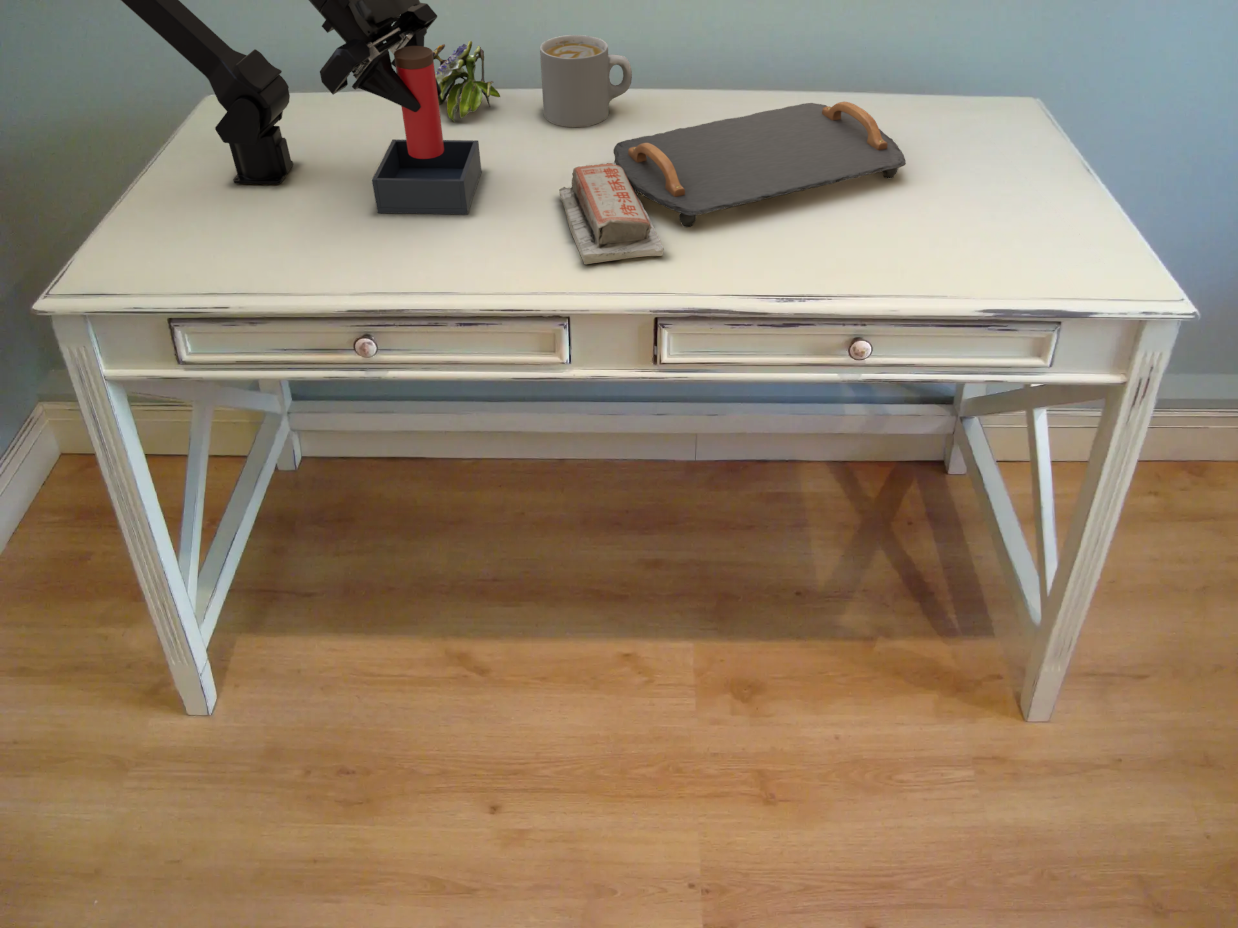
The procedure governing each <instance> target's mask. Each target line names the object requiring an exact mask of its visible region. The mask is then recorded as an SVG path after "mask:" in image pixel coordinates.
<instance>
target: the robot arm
mask: <svg viewBox="0 0 1238 928" xmlns="http://www.w3.org/2000/svg"><path fill="white" fill-rule="evenodd" d="M120 1H121V3H123V4H124V5H125V6H126V7H127V8H129V9H130V10H131V11H132V12H133V13H134V14H135V15H137V17H138V18H140V19H141V20H142V21H143V22H144V23H145V24H146V25H148V27H150V28H151V29H152V30H153V31H154V32H156V34H158V35H159V36H160V37H161V38H162V39H163V40H164V41H165V42H166V43H168V44H169V45H170V46H171V47H172V48H173V49H174V50H176V51H177V53H178V54H180V55H181V56H182V57H183V58H185V60H186V61H188V62H189V63H190V64H191V65H192V66H193V67H195V68H196V69H197V70H198V71H199V72H200V73H201V74H202V75H203V76H205V78H206V79H207V80H208V82H209V85H210V86H211V88H212V91H213V93H214V95H215V97H216V99H217V103H219V105H221V106H222V108H223V109H224V110H225V111H226V112H225V114H224V115H223V116H222V117H221V120H220V121H218V123H217V124H216V126H215V127H214V130H215V131H216V133H217V135H218V136H219V138H220V139H221V141H222V142H223V143H224V144H228V146H229V149H230V153H231V156H232V161H233V164H234V167H235V171H236V175H235V176H234V178H233V179H232V181H233V184H236V185H237V184H238V185H280V184H282V183H283V181H284V179H286V176H287V175H288V173H290V171H291V170H292V167H293V165H294V161H293V160H292V159H291V154H290V150H289V146H288V142H287V139H286V137H283V135H282V131H281V127H280V125H276V124H277V123H278V122H279V121H281V120H282V119H283V114H284V111H285V109H287V108H288V105H289V104H290V99H291V98H290V97H291V95H290V90H289V88H290V87H289V84H288V83H287V81H286V80H285V78H284V77H283V76H282V75H281V74H282V72H283V71H282V69H280V68H277V67H276V66H274V65H273V64H272V63H271V62H270V61H268V60H267V58H266V57H265V56H264V55H263V54H262V53H261V52H260V51H259V50H257V49H253V50H252V51H251V52H249V53H248V54H244V53H242V52H239V51H237V50H235V49H233V48H232V47H230V46H229V45H228V43H226V42H225V41H224V40H223V39H222V38H221V37H220V36H218V35H217V34H216V33H215V32H214V31H213V30H212V29H211V28H210V27H209V26H207V24H205V23H204V22H203V21H202V20H201V19H200V18H199V17H198V16H196V15H195V13H193V12H192V11H191V10H190V9H189V8H188V7H187V6H186V5H185V4H183V3H182V2H181V1H180V0H120ZM308 1H309V3H310V4H311V5H312V6H313V7H314V8H315V9H316V10H317V12H318V13H319V14H320V15H321V17H323V19H324V21H323V23H322V25H321V27H322V29H323V30H324V31H325V32H326V33H327V34H329V33H331V32H332V31H335V32H336V33H337V35H339V37H340V38H341V39H342V40H343V42H344V43H343V44H341V45H340V46H338V47H337V48H335V50H334V51H333V53H332V54H331V55H330V56H329V58H328V60H326V62H325V64H324V65H323V66H322V67H321V69H320V70H319V75H320V80H321V83H322V85H323V86H325V88H326V89H327V91H329V92H330V93H331V95H335V94H337V93H338V92H340V91H342V90H343V89H345V88H346V87H347V86H348V85H349V83H348V77H349V76H350V75H351V73H352V76H353V77H354V78H355V81H354V83H353V84H352V86H351V88H352V89H353V90H354V91H355V90H358V89H359V90H362V91H365V92H367V93H370V94H373V95H375V96H377V97H381V98H383V99H385V100H387V101H389V102H391V103H394V104H396V105H398V106H400V107H401V106H402V107H405V108H407V109H409V110H411V111H413V112H417V111H418V110H419V109H420V108H421V105H420V104H419V102H418V101H417V99H416V98H415V96H414V95H413V94H412V92H411V91H410V90H409V88H408V87H407V86H406V85H405V83H404V82H403V81H402V80H401V78H400V77H399V76H398V74H397V73H396V70H395V69H394V68H396V66H395V59H394V58H393V60H391V55H390V52H391V54H392V55H393V56H394V52H395V51H396V50H398V49H400V48H403V47H408V46H424V47H425V36H426V35H427V33H428V29H430V27H431V26H432V25H433V23H434V22H435V21H436V20H437V19H438V15H437V13H436V12H435V11H434V10H433V8H432V7H431V6H430V5H429V3H426V2H421V1H420V0H308ZM436 85H437V93H438V97H439V96H440V94H441V93H442V91H441V89H440V86H439V84H438V82H437V80H436ZM402 107H401V108H402Z"/></svg>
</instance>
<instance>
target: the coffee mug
mask: <svg viewBox="0 0 1238 928" xmlns="http://www.w3.org/2000/svg"><path fill="white" fill-rule="evenodd" d="M539 56H540V74H541V91H542V94H541V95H542V109H543V110H542V111H543V117H544V119H545V120H546V121H548V122H549V123H551V124H553V125H556V126H560V127H565V128H566V127H567V128H583V127H589V126H590V127H591V126H594V125H597V124H600V123H603V122H604V121H605V120H607V118H609V116H610V108H609V107H610V103H611V101H612V100H614V99H616V98H618V97H620V96H622V95H624V94H625V93H626V92H628V90H629V89H630V88H631V84H632V80H633V71H632V70H633V69H632V67H631V63H630V61H629V59H628V58H627V57H625V56H624V55H621V54H609V45H608V43H607V42H606V41H605V40H603V39H602V38H600V37H596V36H592V35H585V34H567V35H565V34H564V35H560V36H555V37H551V38H549V39H546V40H545V41H543V42H542V43H541V44H540V46H539ZM614 66H619V67H620V68H621V71H622V80H621V82H620V83H619V84H612V82H611V78H610V74H611V69H612V68H613V67H614Z"/></svg>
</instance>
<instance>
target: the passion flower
mask: <svg viewBox="0 0 1238 928" xmlns="http://www.w3.org/2000/svg"><path fill="white" fill-rule="evenodd" d="M445 47H446V44H445V43H443V44H441V45H438V46H437V48H435V49H434V50H432V52H433V61H434V60H437V61H438V62H439V67H438V68H437V69H436V71H435V77H436V80H437V82H438V84H439V86H440V89H441V91H442V93H441V94H440V96H439V97H438V102H439V105H442V104H443V103H445V102H446V109H447V110H446V112H447V115H448V116H447V117H448V118H449V119H451V120H452V122H453V123H456V114H457V110H459V111H458V112H459V118H461V119H464V118H465V117H466V116H467V115H468V114H469V113H470V112H471V113H475V112H476V110H478V109H479V107H480V106H481V104H482V101H483V97H485V100H486V103H487V105H488V108H491V103H490V97H495V98H500V97H501V94H500V92H499V91H498V90H497V88H495V87H494V86H493V85H492V84H494V81H493V80H491V81H485V50H483V48H482V46H481V45H477V47H476V49H475V50H474V51H473V52H474V53H473V54H470V52H471V50H472V47H473V40H468V42H467V44H466V43H463V44H462V45H459V46H458V47H457V49H456V50H453V52H452V54H451V55H449V56H448V58H447V59H442V58H441V57H440V53H441V52H442V51H443V50H444V49H445ZM479 59H480V60H481V64H480V65H481V79H480V80H476V78H475V73H476V68H477V67H476V66H477V65H476V63H477V62H478V60H479ZM464 67H465V68H466V70H465V69H464ZM458 79H462V80H463V81H462V82H458V83H456V82H457V80H458ZM458 108H459V109H458Z"/></svg>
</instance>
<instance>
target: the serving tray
mask: <svg viewBox="0 0 1238 928" xmlns="http://www.w3.org/2000/svg"><path fill="white" fill-rule="evenodd" d="M613 156H614V161H613V162H614V165H618V166H620V167H621V168H623V170H624V172H625V174H626V176H627V178H628V180H629V182H630V184H631V186H632V187H633V188H634V189H635V191H636V192H638V193H639V194H641V195H642V196H643V197H645V198H647V199H649V200H651V201H653V202H654V203H655V202H656V203H657V204H659V205H660V206H664V207H665V208H667V209H670V210H673V211H675V212H677V213H679V215H678V219H679V222H680V223H681V226H682V227H684V228H691V227H693V226H694V224H695V223H696V220H697V216H699V215H703V214H708V213H711V212H716V211H719V210H724V209H731V208H733V207H738V206H741V205H746V204H749V203H756V202H759V201H763V200H767V199H770V198H771V199H772V198H775V197H778V196H785V195H788V194H792V193H796V192H801V191H806V190H809V189H814V188H818V187H823V186H825V185H826V186H827V185H831V184H836V183H839V182H842V181H847V180H851V179H855V178H859V177H860V178H861V177H864V176H868V175H872V174H878V173H880V172H881V174H882V175H883V177H884V178H885V179H893V178H894V177H895V176H896V175H897V173H898V172H899V168H902V167H904V166H906V164H907V162H906V158H905V155H904V153H903V151H902V150H901V148H900V147H899V145H898V144H897V143H896V142H895V140H893V138H891V137H889V136H888V135H887V134H886V133H884V132H883V130H882V129H880V128H879V126H878V123H877V121H876V119H874V117H873V116H872V115H871V114H869V112H868V111H866V110H864V109H863V108H861V107H860V106H858V105H857V104H856V103H852V102H849V101H840V102H837V103H835V104H833V105H832V106H828V105H826V104H822V103H815V102H806V103H805V102H804V103H800V104H796V105H788V106H786V107H782V108H776V109H771V110H763V111H760V112H755V113H752V114H747V115H744V116H738V117H732V118H724V119H720V120H714V121H711V122H707V123H702V124H698V125H693V126H688V127H680V128H675V129H672V130H667V131H665V132H659V133H655V134H652V135H644V136H640V137H634V138H630V139H625V140H623V141H619V142H617V143H616V145H614V148H613Z"/></svg>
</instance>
